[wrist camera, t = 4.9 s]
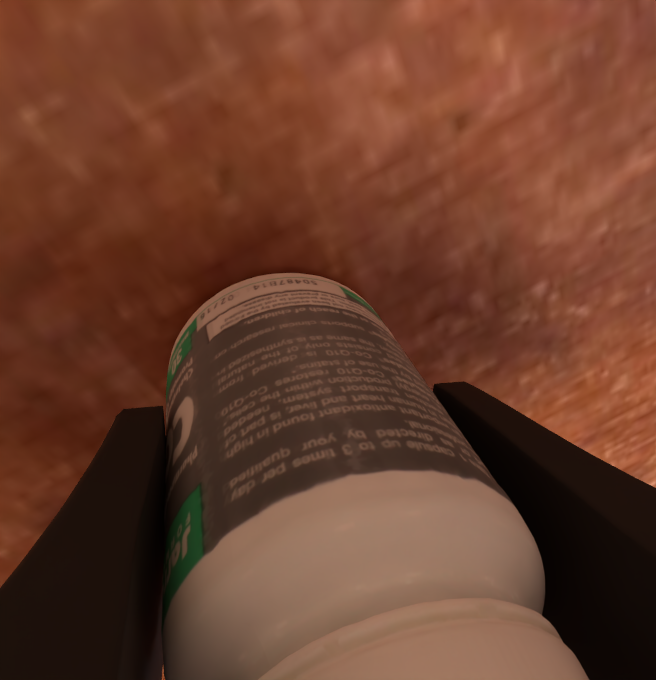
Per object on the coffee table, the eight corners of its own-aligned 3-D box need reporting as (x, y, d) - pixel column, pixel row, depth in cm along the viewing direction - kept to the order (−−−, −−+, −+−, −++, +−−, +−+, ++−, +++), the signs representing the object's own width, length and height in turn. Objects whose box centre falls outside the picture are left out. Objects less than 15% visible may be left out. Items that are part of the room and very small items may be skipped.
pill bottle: (144, 282, 10) (80, 893, 3) (387, 251, 11) (785, 659, 4) (186, 473, 12) (207, 1064, 5) (383, 434, 13) (626, 894, 6)
